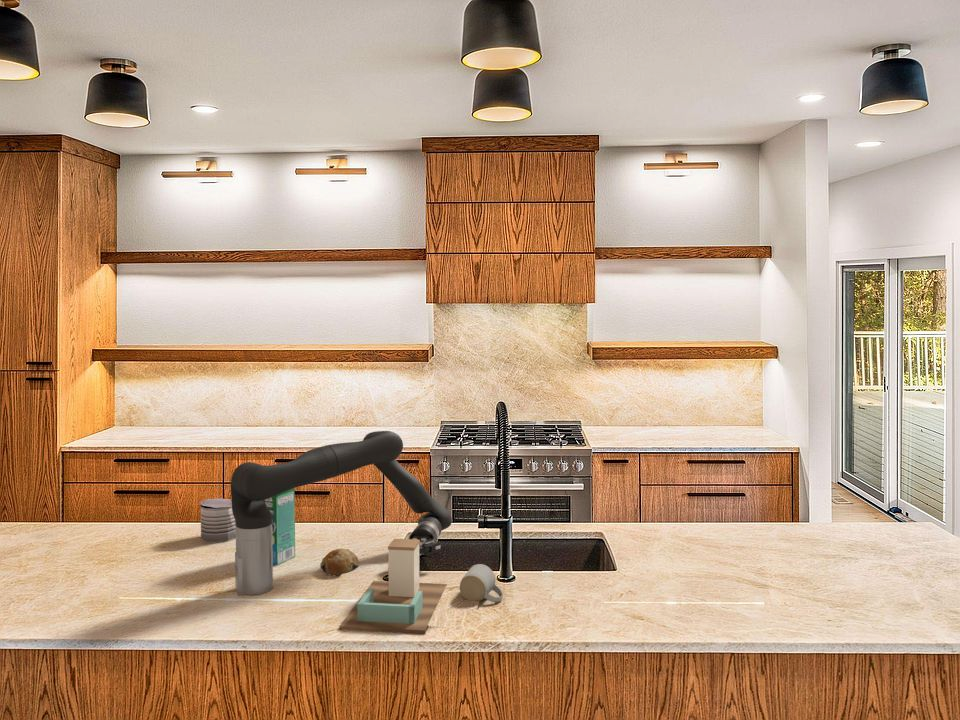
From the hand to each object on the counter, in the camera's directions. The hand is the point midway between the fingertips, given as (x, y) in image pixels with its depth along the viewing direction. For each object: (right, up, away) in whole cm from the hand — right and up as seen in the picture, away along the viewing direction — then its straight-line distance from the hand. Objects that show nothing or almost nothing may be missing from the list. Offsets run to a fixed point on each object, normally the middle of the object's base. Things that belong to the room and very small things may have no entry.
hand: (412, 555), depth 207 cm
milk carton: (-43, -6, +19) cm, 47 cm away
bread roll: (-21, -7, +9) cm, 24 cm away
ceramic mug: (+19, -8, -11) cm, 24 cm away
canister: (-1, -7, -10) cm, 12 cm away
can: (-66, -5, +40) cm, 77 cm away
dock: (-3, -9, -23) cm, 25 cm away
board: (-2, -8, -17) cm, 19 cm away
